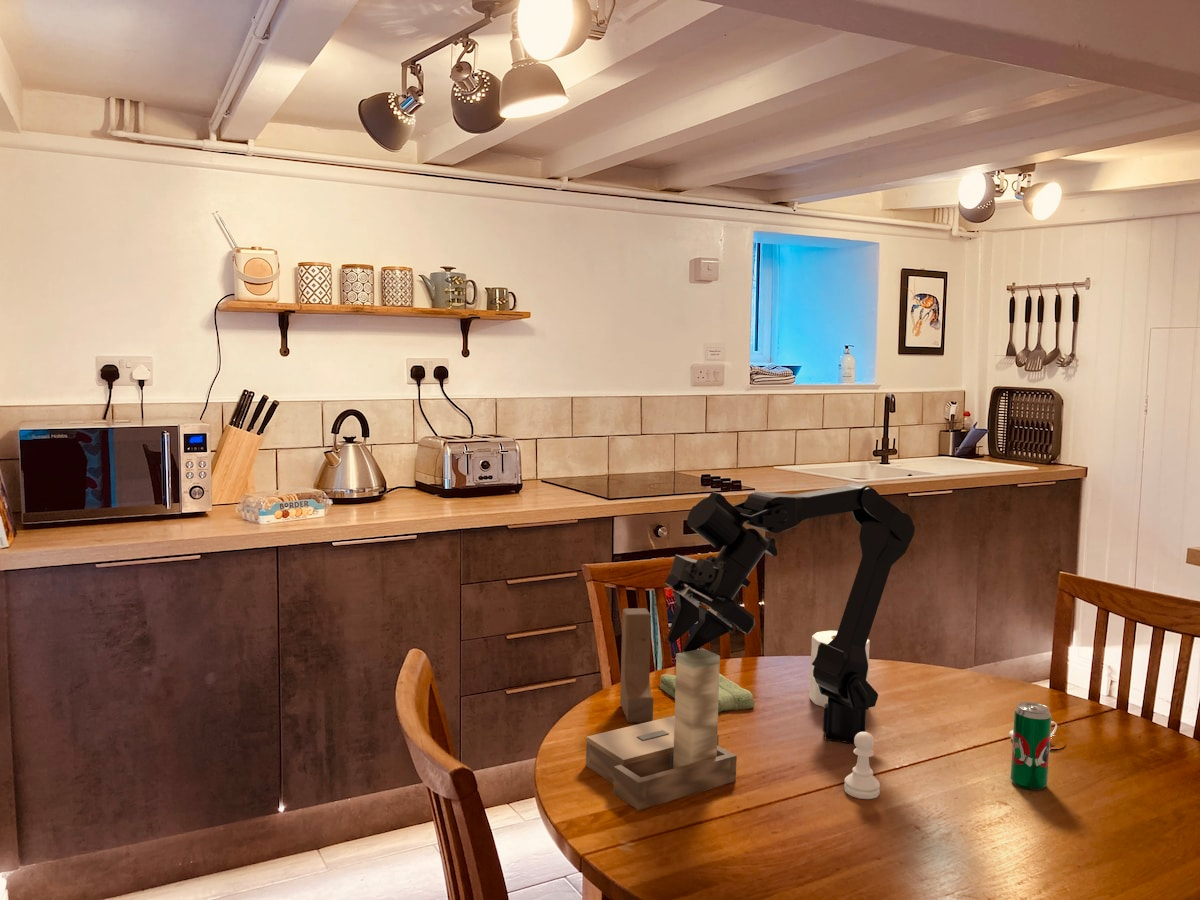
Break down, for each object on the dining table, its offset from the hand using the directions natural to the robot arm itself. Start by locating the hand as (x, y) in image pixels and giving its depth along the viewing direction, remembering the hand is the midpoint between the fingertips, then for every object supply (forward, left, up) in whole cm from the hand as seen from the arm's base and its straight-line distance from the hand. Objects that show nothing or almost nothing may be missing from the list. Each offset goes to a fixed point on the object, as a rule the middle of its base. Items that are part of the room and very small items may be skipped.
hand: (677, 647), depth 143 cm
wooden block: (+11, -19, -19) cm, 29 cm away
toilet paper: (-23, -38, -19) cm, 49 cm away
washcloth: (+1, -32, -19) cm, 38 cm away
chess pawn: (-28, 0, -19) cm, 34 cm away
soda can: (-52, -11, -19) cm, 57 cm away
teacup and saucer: (-54, -33, -19) cm, 66 cm away
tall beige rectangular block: (-4, +4, -19) cm, 20 cm away
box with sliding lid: (+2, +3, -19) cm, 19 cm away
